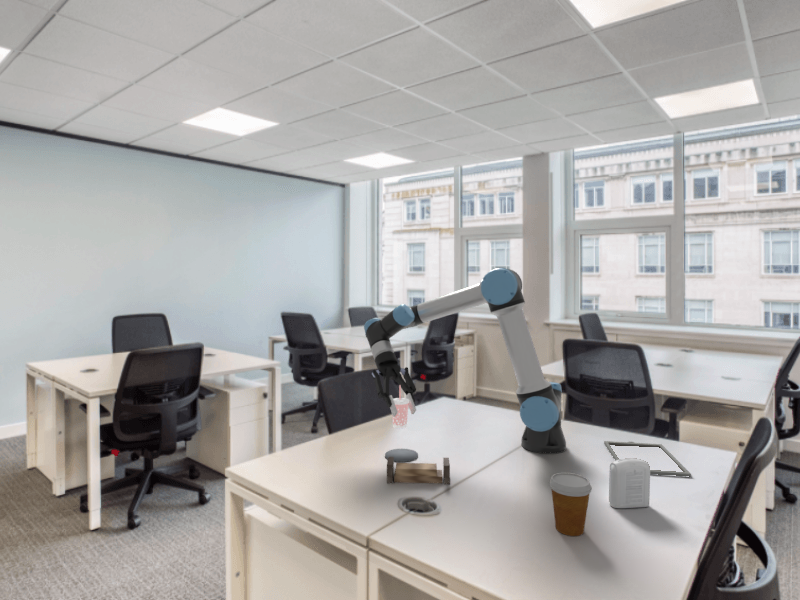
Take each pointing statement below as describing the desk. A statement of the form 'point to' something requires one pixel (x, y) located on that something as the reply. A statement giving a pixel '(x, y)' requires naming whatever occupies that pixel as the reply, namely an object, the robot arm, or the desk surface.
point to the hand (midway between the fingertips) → (404, 413)
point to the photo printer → (629, 483)
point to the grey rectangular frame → (659, 472)
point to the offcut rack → (417, 472)
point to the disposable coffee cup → (570, 502)
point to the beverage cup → (400, 411)
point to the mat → (402, 455)
